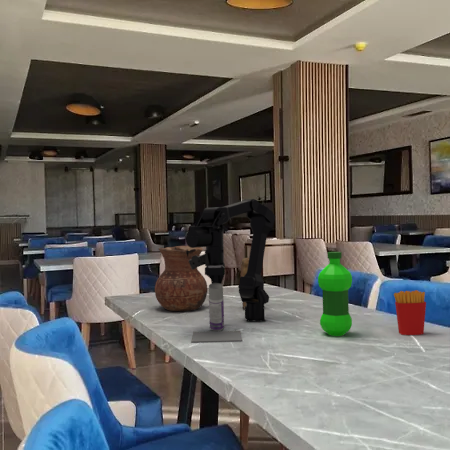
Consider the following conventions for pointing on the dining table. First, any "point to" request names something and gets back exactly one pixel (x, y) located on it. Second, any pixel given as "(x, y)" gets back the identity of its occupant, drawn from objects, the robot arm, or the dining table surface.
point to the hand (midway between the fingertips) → (215, 294)
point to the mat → (216, 336)
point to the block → (244, 271)
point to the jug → (180, 280)
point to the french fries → (410, 312)
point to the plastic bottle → (335, 296)
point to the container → (216, 306)
